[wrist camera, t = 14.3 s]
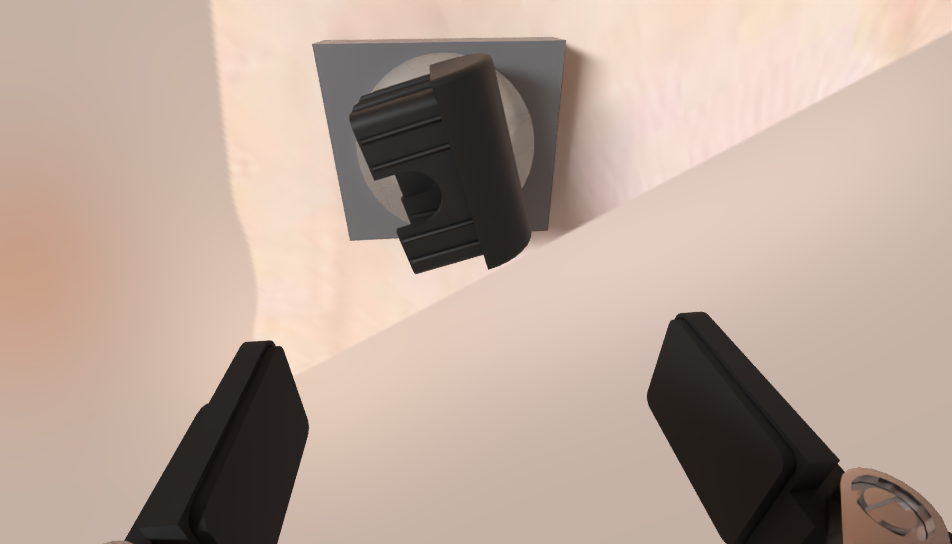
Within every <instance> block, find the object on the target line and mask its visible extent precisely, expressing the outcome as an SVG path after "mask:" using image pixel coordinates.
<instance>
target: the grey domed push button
mask: <svg viewBox="0 0 952 544" xmlns="http://www.w3.org/2000/svg"><path fill="white" fill-rule="evenodd" d="M565 45H566V40H562V39H558V38H554V37H532V38H463V39H393V40H324V41H321V42H317V43H314V44H312V46H313V51H314V56H315V61H316V66H317V72H318V77H319V82H320V87H321V92H322V97H323V103H324V108H325V113H326V118H327V123H328V129H329V134H330V139H331V144H332V149H333V154H334V160H335V165H336V170H337V175H338V180H339V186H340V191H341V196H342V201H343V206H344V211H345V217H346V222H347V227H348V232H349V237H350V241H354V240H373V239H392V238H399V237H398V235H397V232H396V231H397V228H400V227H403V226H406V225H410V224H411V223H410V221H409V218H408V216H407V213H406V211H405V208H404V206H403V204H402V201H401V197H402V196H403V195H402V192H401V190H400V187H399V185H398V182H397V180H396V177H395V175H393V176H389V177H386V178H383V179H380V180H376V181H374V179H373V177H372V174H371V172H370V170H369V167H368V165H367V163H366V161H365V158H364V156H363V154H362V151H361V149H360V147H359V144H358V142H357V140H356V137H355V135H354V133H353V130H352V128H351V124H350V121H349V115H350V113H351V112H352V109H353V107H354V105H356V104H358V102H359V100H360V97H361V96H363V95H366V94H370V93H372V92H374V91H376V90H379V89H382V88H386V87H389V86H392V85H395V84H398V83H401V82H404V81H408V80H411V79H414V78H417V77H420V76H423V75H426V74H430V66H429V65H431V64H435V63H438V62H441V61H445V60H448V59H452V58H456V57H461V56H465V55H471V54H477V53H486V54H489V55H490V56H491V57H492V59H493V63H494V67H495V72H496V76H497V81H498V85H499V90H500V94H501V98H502V103H503V107H504V112H505V116H506V121H507V125H508V130H509V134H510V139H511V143H512V148H513V152H514V156H515V161H516V165H517V170H518V174H519V179H520V183H521V188H522V192H523V197H524V201H525V206H526V210H527V214H528V219H529V223H530V228H531V231H545V230H548V222H549V212H550V201H551V191H552V181H553V170H554V160H555V149H556V139H557V128H558V118H559V108H560V97H561V87H562V76H563V66H564V55H565Z"/></svg>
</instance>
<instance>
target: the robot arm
mask: <svg viewBox="0 0 952 544" xmlns="http://www.w3.org/2000/svg"><path fill="white" fill-rule="evenodd" d="M647 401H648V405H649V407H650V409H651V411H652V413H653V415H654V416H655V418H656V420H657V422H658V424H659V426H660V427H661V429H662V431H663V433H664V435H665V436H666V438H667V440H668V442H669V444H670V446H671V447H672V449H673V451H674V453H675V455H676V457H677V458H678V460H679V462H680V464H681V465H682V467H683V469H684V471H685V473H686V475H687V477H688V478H689V480H690V482H691V484H692V485H693V487H694V489H695V491H696V493H697V495H698V496H699V498H700V500H701V502H702V504H703V506H704V508H705V509H706V511H707V513H708V515H709V517H710V518H711V520H712V522H713V524H714V526H715V527H716V529H717V531H718V533H719V535H720V536H721V538H722V540H724V542H725V543H727V544H952V533H950V532H948V531H947V528H946V526H945V524H944V521H943V519H942V517H941V516H940V515H939V514H938V512H937V511H936V510H935V508H934V507H933V506H932V504H930V503H929V502H928V501H927V500H926V499H925V498H924V497H923V496H922V495H921V494H919V493H918V492H917V491H916V490H914V489H913V488H911V487H910V486H908V485H907V484H905V483H904V482H902V481H900V480H898V479H896V478H894V477H892V476H890V475H888V474H886V473H883V472H880V471H877V470H874V469H869V468H860V467H858V468H853V469H849V470H847V471H846V472H844V471H843V469H842V468H841V467H840V466H839V465H838V462H839V461H840V460H839V459H838V458H837V457H836V455H835V454H834V453H833V452H832V451H831V450H830V449H829V448H828V447H827V445H826V444H825V443H824V442H823V441H822V440H821V439H820V438H819V437H818V436H817V434H816V433H815V432H814V431H813V430H812V429H811V428H810V427H809V426H808V425H807V423H806V422H805V421H804V420H803V419H802V418H801V417H800V416H799V415H798V414H797V412H796V411H795V410H794V409H793V408H792V407H791V406H790V405H789V403H787V401H786V400H785V399H784V398H783V397H782V396H781V395H780V394H779V392H778V391H777V390H776V389H775V388H774V387H773V386H772V385H771V384H770V382H768V380H767V379H766V378H765V377H764V376H763V375H762V374H761V373H760V371H759V370H758V369H757V368H756V367H755V366H754V365H753V364H752V363H751V362H750V360H749V359H748V358H747V357H746V356H745V355H744V354H743V353H742V352H741V351H740V349H739V348H738V347H737V346H736V345H735V344H734V343H733V342H732V341H731V339H730V338H729V337H728V336H727V335H726V334H725V333H724V332H723V331H722V329H721V328H720V327H719V326H718V325H717V324H716V323H715V322H714V321H713V320H712V318H711V317H710V316H709V315H708V314H706V313H704V312H691V313H680V314H678V315H677V316H676V318H675V319H674V320H671V321H670V323H669V326H668V329H667V332H666V335H665V338H664V341H663V345H662V348H661V351H660V354H659V357H658V360H657V364H656V367H655V370H654V373H653V377H652V379H651V383H650V386H649V389H648V392H647ZM308 431H309V425H308V419H307V416H306V414H305V410H304V407H303V404H302V402H301V399H300V396H299V393H298V390H297V387H296V384H295V381H294V379H293V376H292V373H291V370H290V367H289V364H288V361H287V358H286V356H285V353H284V350H283V348H282V347H281V346H275V344H274V342H273V341H270V340H269V341H254V342H245V343H243V344H242V345H241V347H240V348H239V350H238V352H237V354H236V355H235V357H234V359H233V361H232V362H231V364H230V366H229V368H228V370H227V371H226V373H225V375H224V377H223V379H222V380H221V382H220V384H219V386H218V388H217V389H216V391H215V393H214V395H213V396H212V398H211V400H210V402H209V403H208V404H206V405H205V406H203V407H202V408H201V409H200V411H199V412H198V413H197V415H196V416H195V418H194V420H193V422H192V423H191V425H190V427H189V429H188V430H187V432H186V434H185V436H184V438H183V439H182V441H181V443H180V444H179V446H178V448H177V450H176V451H175V453H174V455H173V457H172V458H171V460H170V462H169V464H168V465H167V467H166V469H165V471H164V472H163V474H162V476H161V477H160V479H159V481H158V483H157V485H156V486H155V488H154V490H153V491H152V493H151V495H150V497H149V499H148V500H147V502H146V504H145V505H144V507H143V509H142V511H141V512H140V514H139V516H138V518H137V519H136V521H135V523H134V525H133V526H132V528H131V530H130V532H129V533H128V535H127V537H126V539H125V540H124V541H112V542H108V543H105V544H277V542H278V539H279V535H280V532H281V528H282V525H283V521H284V517H285V514H286V511H287V507H288V503H289V500H290V497H291V493H292V489H293V486H294V483H295V479H296V476H297V472H298V469H299V465H300V462H301V458H302V455H303V451H304V448H305V444H306V440H307V437H308Z"/></svg>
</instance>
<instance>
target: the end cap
mask: <svg viewBox="0 0 952 544" xmlns="http://www.w3.org/2000/svg"><path fill="white" fill-rule="evenodd" d="M429 66H430V74H426V75H423V76H420V77H417V78H414V79H411V80H408V81H404V82H401V83H398V84H395V85H392V86H389V87H386V88H382V89H379V90H376V91H374V92H372V93H370V94H366V95H363V96H361V97H360V100H359V102H358V104H356V105H354V107H353V109H352V112H351V113H350V115H349V121H350V124H351V128H352V130H353V133H354V135H355V137H356V140H357V142H358V144H359V147H360V149H361V151H362V154H363V156H364V158H365V161H366V163H367V165H368V167H369V170H370V172H371V174H372V177H373V179H374V181H376V180H380V179H383V178H386V177H389V176H393V175H395V177H396V180H397V182H398V185H399V187H400V190H401V192H402V195H403V196H402V197H401V201H402V204H403V206H404V208H405V211H406V213H407V216H408V218H409V221H410V223H411V224H410V225H406V226H403V227H400V228H397V231H396V232H397V235H398V237H399V239H400V242H401V244H402V246H403V249H404V251H405V253H406V256H407V258H408V260H409V263H410V265H411V267H412V269H413V272H414V273H415V274H418V273H422V272H425V271H429V270H432V269H436V268H439V267H443V266H446V265H450V264H453V263H456V262H460V261H463V260H467V259H470V258H474V257H477V256H481V255H484V258H485V261H486V264H487V267H488V270H489V269H492V268H495V267H498V266H500V265H502V264H504V263H506V262H508V261H510V260H511V259H513V258H514V257H516V256H517V255H518V254H519V253H521V252H522V251H523V250H524V248H525V247H526V246H527V245H528V243H529V241H530V238H531V228H530V223H529V219H528V214H527V210H526V206H525V201H524V197H523V192H522V188H521V183H520V179H519V174H518V170H517V165H516V161H515V156H514V152H513V148H512V143H511V139H510V134H509V130H508V125H507V121H506V116H505V112H504V107H503V103H502V98H501V94H500V90H499V85H498V81H497V76H496V72H495V67H494V63H493V59H492V57H491V56H490V55H489V54H486V53H477V54H471V55H465V56H461V57H456V58H452V59H448V60H445V61H441V62H438V63H435V64H431V65H429Z"/></svg>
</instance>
